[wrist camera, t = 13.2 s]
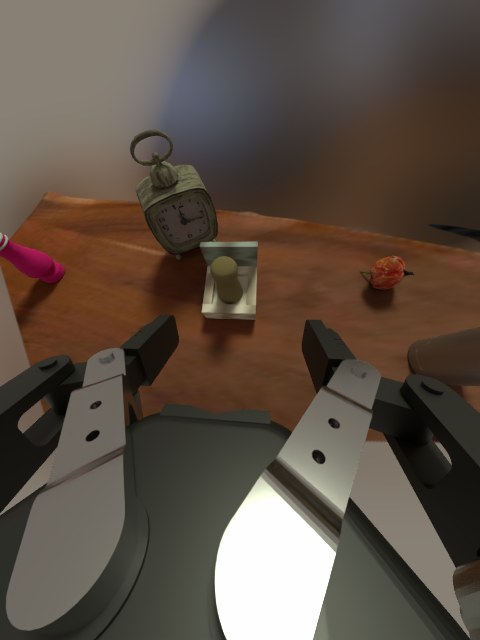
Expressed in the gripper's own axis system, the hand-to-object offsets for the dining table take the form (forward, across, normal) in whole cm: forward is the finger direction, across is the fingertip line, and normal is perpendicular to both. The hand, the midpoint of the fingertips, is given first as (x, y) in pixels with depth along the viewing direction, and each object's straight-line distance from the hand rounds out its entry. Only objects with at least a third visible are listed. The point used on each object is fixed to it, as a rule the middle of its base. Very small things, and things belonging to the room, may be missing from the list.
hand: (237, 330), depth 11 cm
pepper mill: (+38, +57, +6) cm, 69 cm away
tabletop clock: (+45, +17, -1) cm, 48 cm away
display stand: (+33, +5, +10) cm, 35 cm away
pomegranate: (+37, -30, +7) cm, 48 cm away
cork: (+31, +5, +8) cm, 33 cm away
